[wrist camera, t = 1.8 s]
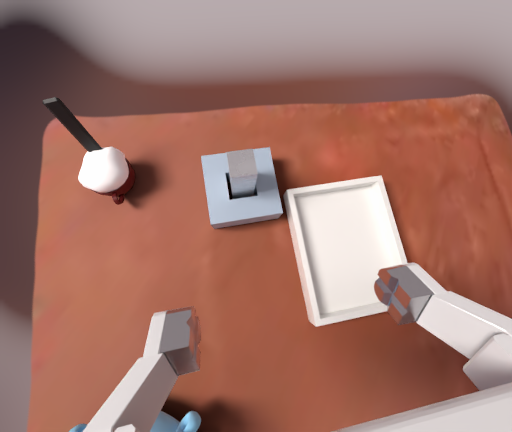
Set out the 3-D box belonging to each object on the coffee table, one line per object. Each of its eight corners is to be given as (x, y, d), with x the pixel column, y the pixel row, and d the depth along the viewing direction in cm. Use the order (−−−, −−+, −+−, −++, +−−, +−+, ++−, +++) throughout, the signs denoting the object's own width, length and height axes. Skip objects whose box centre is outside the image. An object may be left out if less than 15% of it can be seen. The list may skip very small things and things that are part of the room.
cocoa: (137, 208, 34) (88, 186, 23) (93, 206, 34) (19, 182, 22) (144, 150, 36) (102, 101, 24) (103, 146, 35) (38, 94, 24)
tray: (370, 182, 38) (381, 175, 35) (404, 300, 34) (419, 303, 31) (283, 195, 36) (286, 189, 33) (309, 320, 33) (315, 326, 30)
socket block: (266, 159, 37) (269, 147, 33) (278, 218, 35) (283, 212, 31) (205, 167, 36) (201, 156, 32) (214, 228, 34) (210, 224, 30)
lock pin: (249, 182, 36) (253, 148, 25) (252, 200, 36) (257, 173, 25) (230, 185, 36) (226, 152, 25) (233, 203, 35) (230, 177, 25)
